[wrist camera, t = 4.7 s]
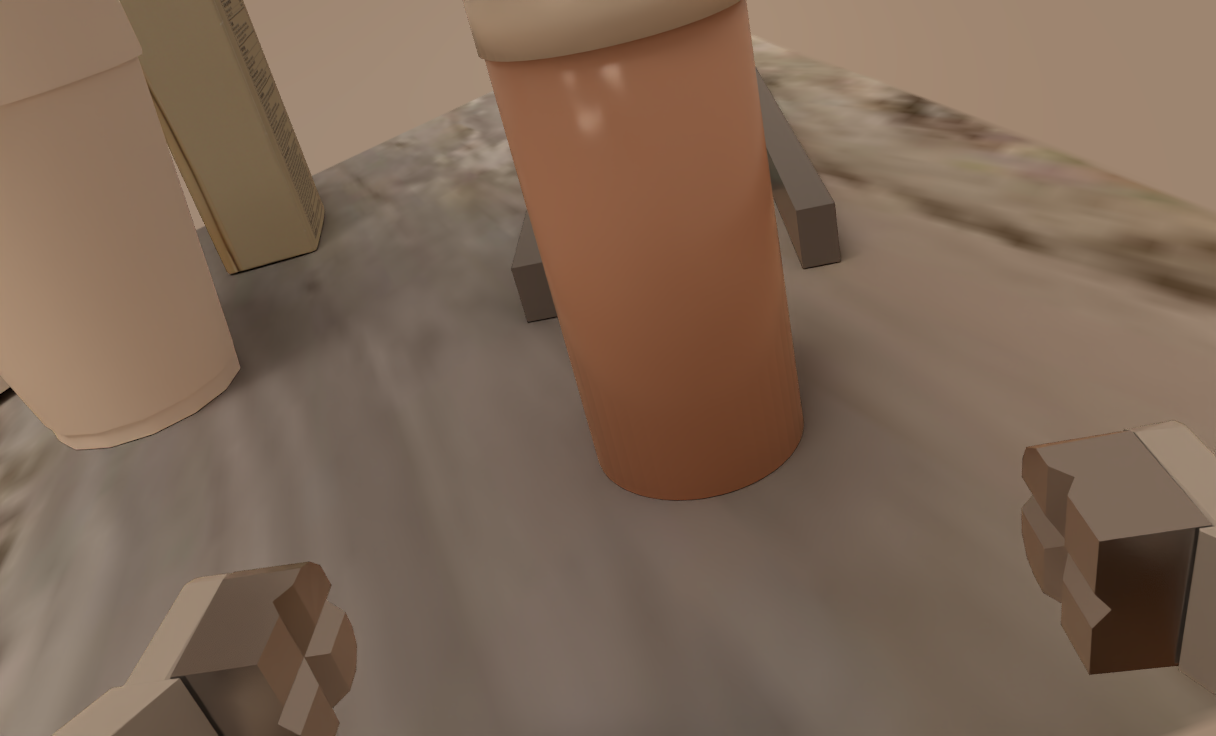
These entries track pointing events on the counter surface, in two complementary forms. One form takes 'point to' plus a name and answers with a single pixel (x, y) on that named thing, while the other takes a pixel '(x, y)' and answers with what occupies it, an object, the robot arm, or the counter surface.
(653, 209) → the terracotta jar
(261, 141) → the skincare box
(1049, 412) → the counter surface
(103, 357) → the foam cup
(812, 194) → the pusher lane
